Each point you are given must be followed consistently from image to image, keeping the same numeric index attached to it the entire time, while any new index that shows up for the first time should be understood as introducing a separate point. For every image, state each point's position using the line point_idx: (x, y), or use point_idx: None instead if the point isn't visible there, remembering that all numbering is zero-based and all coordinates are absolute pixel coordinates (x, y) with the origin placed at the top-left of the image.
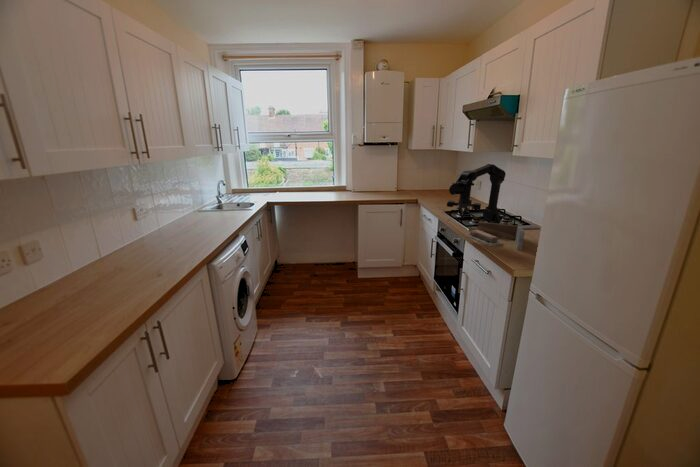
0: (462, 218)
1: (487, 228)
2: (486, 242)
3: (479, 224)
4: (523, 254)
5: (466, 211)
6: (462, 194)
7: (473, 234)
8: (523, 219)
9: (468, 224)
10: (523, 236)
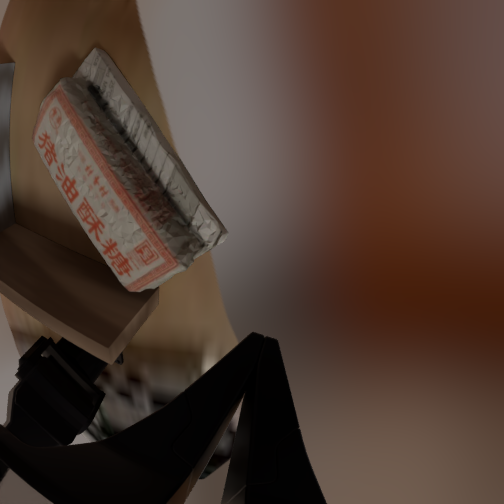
0: (253, 337)
1: (77, 294)
2: (107, 80)
3: (109, 332)
4: (13, 19)
5: (112, 436)
6: None
7: (173, 223)
8: None
9: None
10: None
